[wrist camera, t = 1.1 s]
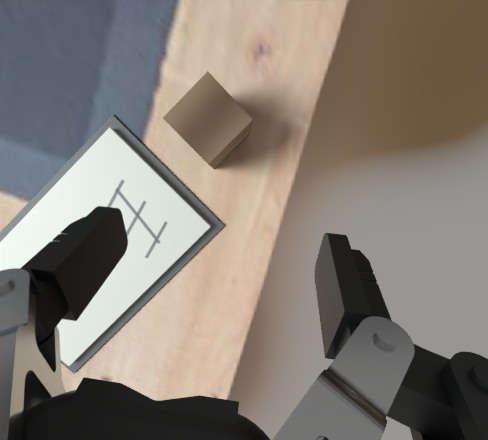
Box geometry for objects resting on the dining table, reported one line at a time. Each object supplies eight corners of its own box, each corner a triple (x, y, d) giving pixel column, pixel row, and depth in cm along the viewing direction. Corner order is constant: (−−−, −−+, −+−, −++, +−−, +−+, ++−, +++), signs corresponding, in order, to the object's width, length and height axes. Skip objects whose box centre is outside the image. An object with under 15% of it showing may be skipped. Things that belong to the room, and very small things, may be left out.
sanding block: (180, 134, 29) (162, 117, 22) (214, 99, 28) (207, 71, 21) (214, 169, 29) (208, 164, 22) (248, 135, 29) (252, 119, 22)
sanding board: (-40, 276, 30) (-50, 279, 29) (113, 115, 28) (108, 112, 27) (74, 372, 31) (69, 378, 30) (224, 225, 30) (224, 226, 29)
